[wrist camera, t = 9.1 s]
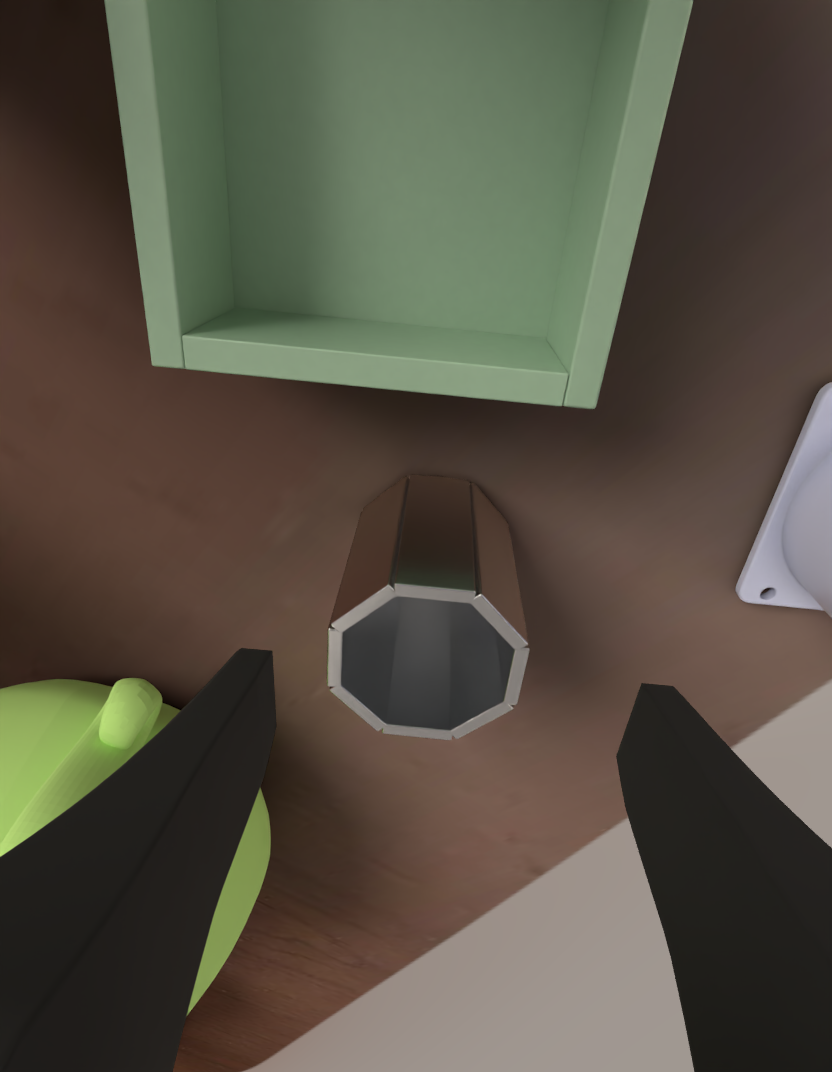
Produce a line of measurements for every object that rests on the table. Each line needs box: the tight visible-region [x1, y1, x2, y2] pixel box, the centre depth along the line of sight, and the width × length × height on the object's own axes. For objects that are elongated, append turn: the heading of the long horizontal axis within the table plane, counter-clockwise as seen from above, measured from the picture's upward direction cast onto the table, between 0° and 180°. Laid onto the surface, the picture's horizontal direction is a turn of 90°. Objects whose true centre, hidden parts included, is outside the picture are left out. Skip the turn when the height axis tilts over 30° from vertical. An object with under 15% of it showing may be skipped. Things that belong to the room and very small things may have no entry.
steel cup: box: [327, 474, 530, 740], centre depth 19 cm, size 5×5×7 cm
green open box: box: [104, 0, 693, 409], centre depth 13 cm, size 13×11×5 cm
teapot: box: [0, 678, 271, 1015], centre depth 23 cm, size 22×15×13 cm
